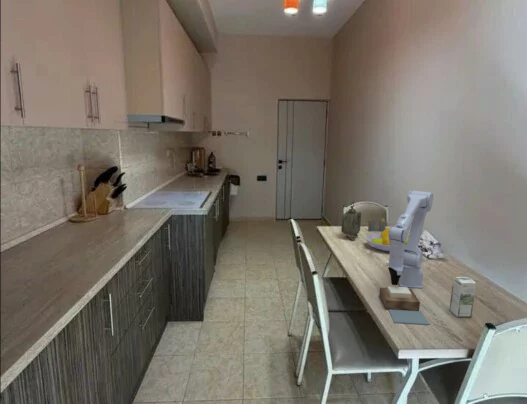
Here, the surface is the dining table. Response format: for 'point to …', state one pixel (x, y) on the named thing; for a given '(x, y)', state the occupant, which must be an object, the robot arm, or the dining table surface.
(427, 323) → the mat
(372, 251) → the dining table surface
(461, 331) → the dining table surface
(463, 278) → the syrup box
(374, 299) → the dining table surface
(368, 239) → the fruit bowl
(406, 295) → the tile
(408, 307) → the block
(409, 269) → the robot arm
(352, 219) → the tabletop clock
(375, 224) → the architectural model on board
